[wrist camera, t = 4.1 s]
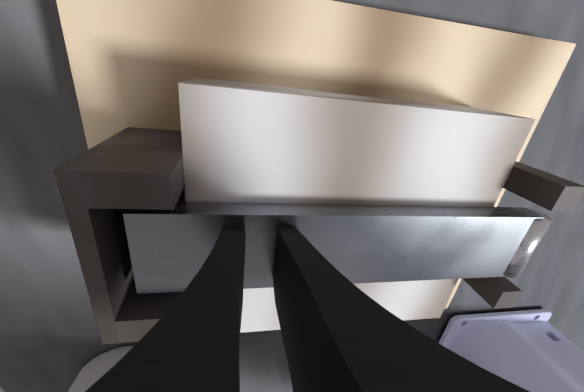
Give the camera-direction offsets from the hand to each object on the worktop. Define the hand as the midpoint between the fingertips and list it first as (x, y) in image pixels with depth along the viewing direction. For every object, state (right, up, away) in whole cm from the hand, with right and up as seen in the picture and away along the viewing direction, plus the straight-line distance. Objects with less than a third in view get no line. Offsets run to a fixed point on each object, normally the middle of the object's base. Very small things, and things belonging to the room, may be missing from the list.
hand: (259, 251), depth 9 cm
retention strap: (+3, +1, +3) cm, 4 cm away
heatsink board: (+3, +2, +5) cm, 6 cm away
